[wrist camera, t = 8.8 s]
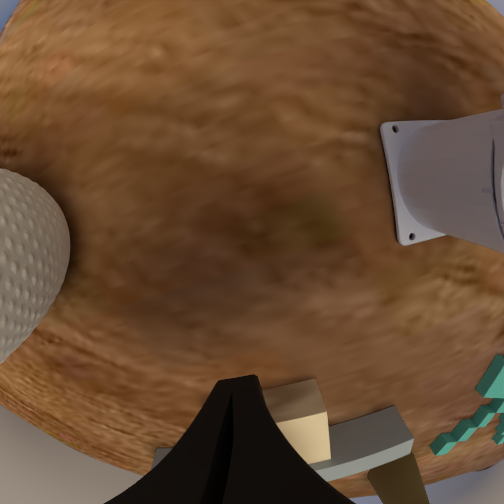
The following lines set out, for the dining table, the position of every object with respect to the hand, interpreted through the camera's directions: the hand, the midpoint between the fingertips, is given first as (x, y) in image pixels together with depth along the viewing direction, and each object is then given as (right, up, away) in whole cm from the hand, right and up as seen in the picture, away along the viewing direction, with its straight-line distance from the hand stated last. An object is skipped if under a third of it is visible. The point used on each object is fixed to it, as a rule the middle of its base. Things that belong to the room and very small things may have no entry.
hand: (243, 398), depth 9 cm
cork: (+17, -20, +15) cm, 30 cm away
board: (+2, -12, +12) cm, 17 cm away
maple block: (+2, -8, +12) cm, 14 cm away
